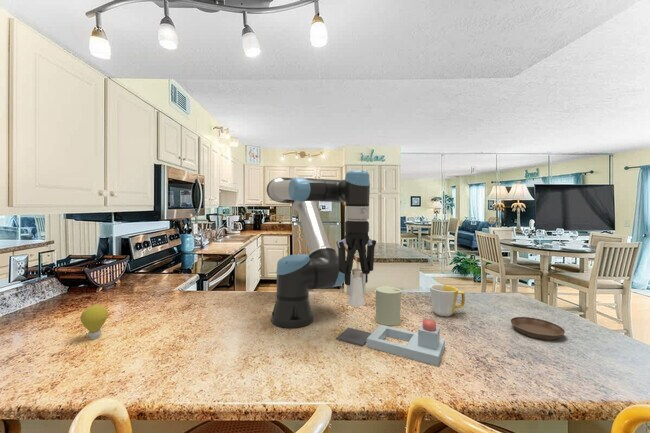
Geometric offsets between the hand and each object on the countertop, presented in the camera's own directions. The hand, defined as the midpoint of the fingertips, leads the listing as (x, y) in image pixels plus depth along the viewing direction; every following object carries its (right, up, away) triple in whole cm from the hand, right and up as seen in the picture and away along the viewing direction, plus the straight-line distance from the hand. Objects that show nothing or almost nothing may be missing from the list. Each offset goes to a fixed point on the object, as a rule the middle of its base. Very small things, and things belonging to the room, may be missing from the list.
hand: (356, 294), depth 91 cm
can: (+13, -14, +15) cm, 24 cm away
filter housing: (+14, -14, -6) cm, 21 cm away
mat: (0, -14, 0) cm, 14 cm away
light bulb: (-81, -13, -2) cm, 82 cm away
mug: (+38, -14, +22) cm, 46 cm away
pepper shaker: (0, -3, 0) cm, 3 cm away
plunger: (+20, -7, -9) cm, 23 cm away
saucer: (+62, -15, +6) cm, 64 cm away
